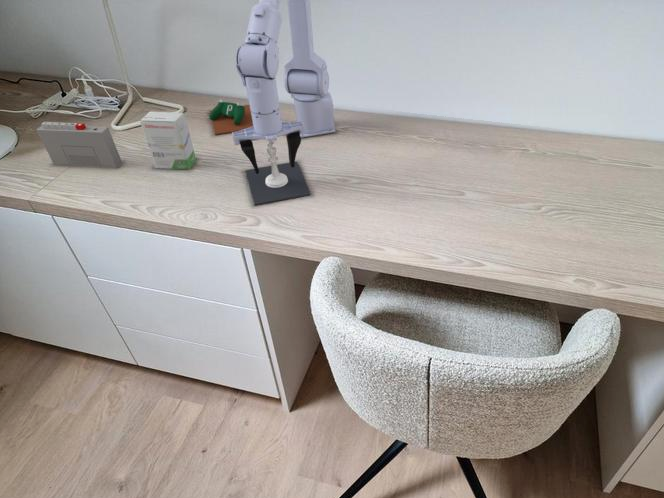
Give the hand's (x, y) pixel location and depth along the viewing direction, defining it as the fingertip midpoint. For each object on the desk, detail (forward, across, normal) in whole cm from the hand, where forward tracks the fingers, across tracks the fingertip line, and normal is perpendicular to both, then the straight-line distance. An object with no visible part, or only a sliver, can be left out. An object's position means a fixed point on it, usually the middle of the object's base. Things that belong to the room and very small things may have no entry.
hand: (274, 168), depth 106 cm
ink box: (+4, -21, +16) cm, 27 cm away
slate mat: (+4, 0, 0) cm, 4 cm away
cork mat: (+4, -5, +34) cm, 35 cm away
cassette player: (+4, -41, +23) cm, 47 cm away
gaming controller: (+4, -6, +34) cm, 35 cm away
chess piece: (+4, 0, 0) cm, 4 cm away
